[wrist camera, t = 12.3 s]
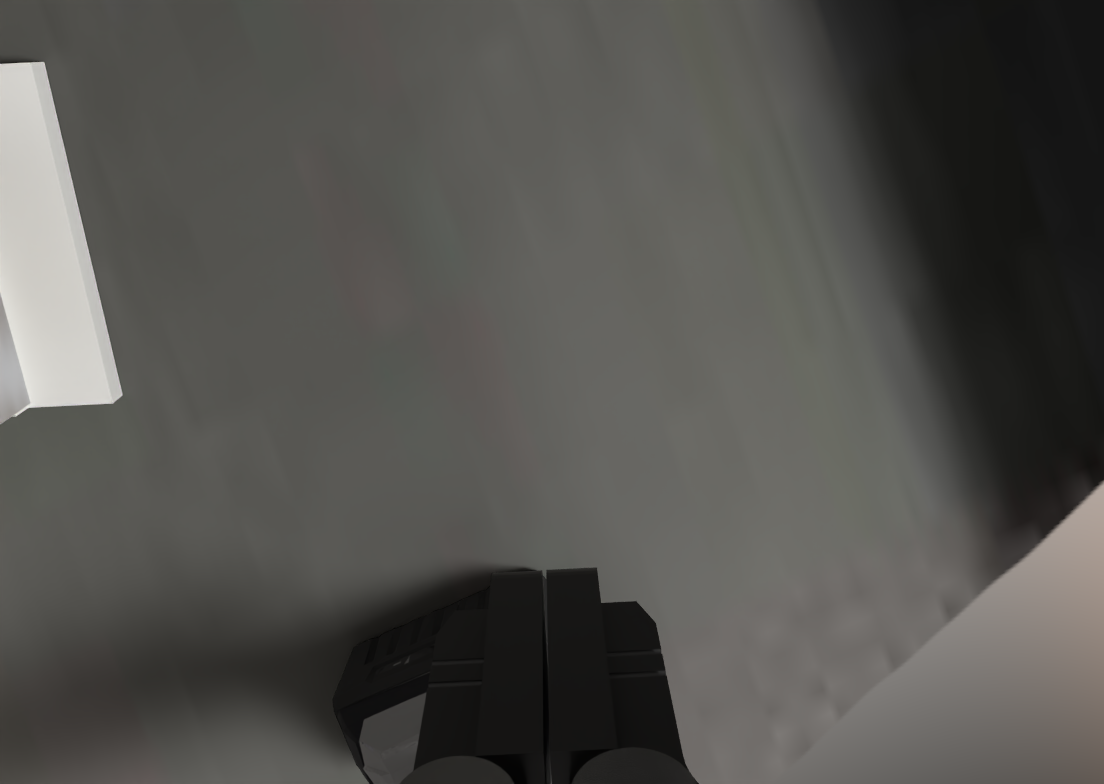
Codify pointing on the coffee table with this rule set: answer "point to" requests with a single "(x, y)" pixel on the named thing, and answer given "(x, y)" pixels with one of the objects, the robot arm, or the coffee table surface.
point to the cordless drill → (393, 693)
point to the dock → (47, 254)
